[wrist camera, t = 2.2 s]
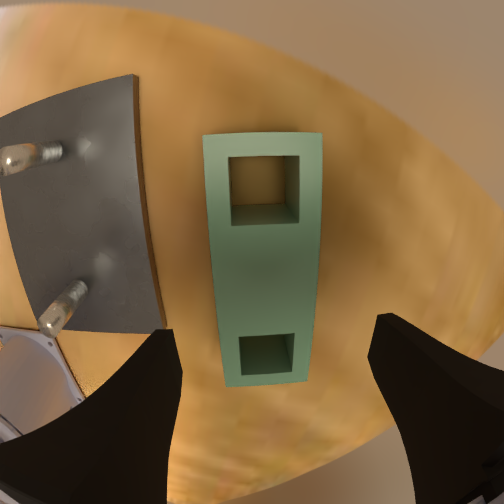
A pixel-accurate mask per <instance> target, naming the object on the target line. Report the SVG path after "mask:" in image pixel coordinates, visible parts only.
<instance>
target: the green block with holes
mask: <svg viewBox="0 0 504 504" xmlns="http://www.w3.org/2000/svg"><path fill="white" fill-rule="evenodd" d="M203 155H204V173H205V189H206V203H207V217H208V229H209V241H210V253H211V264H212V274H213V284H214V294H215V304H216V313H217V322H218V330H219V339H220V347H221V355H222V363H223V370H224V378H225V385H226V387H240V386H259V385H273V384H284V383H295V382H304V381H307V379H308V371H309V363H310V355H311V346H312V337H313V328H314V317H315V307H316V295H317V282H318V268H319V252H320V233H321V208H322V133H309V132H253V133H228V134H212V135H203ZM280 155H285V204H259V205H236V206H232V190H231V168H230V157H242V156H280Z"/></svg>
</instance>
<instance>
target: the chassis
mask: <svg viewBox="0 0 504 504" xmlns="http://www.w3.org/2000/svg"><path fill="white" fill-rule="evenodd" d="M0 189H1V196H2V202H3V208H4V213H5V218H6V223H7V228H8V232H9V236H10V240H11V244H12V248H13V252H14V256H15V259H16V263H17V266H18V270H19V273H20V276H21V279H22V282H23V285H24V288H25V291H26V294H27V297H28V300H29V302H30V305H31V308H32V310H33V313H34V315H35V318H36V320H37V325H38V328H39V330H40V331H41V333H42V334H43V335H45V336H46V337H48V338H51V339H53V338H55V337H56V336H57V335H58V333H59V332H60V331H61V329H62V330H75V331H90V332H109V333H137V334H152V333H153V332H154V331H155V330H156V329H166V327H167V323H166V318H165V313H164V309H163V304H162V299H161V294H160V289H159V283H158V278H157V272H156V267H155V261H154V255H153V248H152V242H151V235H150V228H149V221H148V213H147V205H146V196H145V187H144V177H143V166H142V154H141V139H140V120H139V77H137V76H136V75H134V74H130V75H125V76H121V77H116V78H112V79H108V80H104V81H100V82H96V83H92V84H89V85H85V86H82V87H79V88H75V89H72V90H69V91H66V92H63V93H60V94H57V95H54V96H51V97H48V98H46V99H43V100H40V101H38V102H35V103H33V104H30V105H28V106H25V107H23V108H20V109H18V110H16V111H13V112H11V113H9V114H7V115H5V116H3V117H0Z"/></svg>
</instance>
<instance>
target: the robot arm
mask: <svg viewBox="0 0 504 504" xmlns="http://www.w3.org/2000/svg"><path fill="white" fill-rule="evenodd" d="M0 340H1V342H2V344H3V348H2V349H1V350H0V504H167V475H168V459H169V451H170V445H171V440H172V435H173V430H174V426H175V421H176V416H177V411H178V407H179V402H180V397H181V386H182V374H183V371H182V367H181V363H180V359H179V355H178V351H177V347H176V342H175V338H174V333H173V329H156V330H155V331H154V332H153V333H152V334H151V335H150V336H149V337H148V338H147V339H146V340H145V341H144V343H143V344H142V345H141V346H140V347H139V348H138V349H137V350H136V351H135V353H134V354H133V355H132V356H131V357H130V358H129V359H128V360H127V361H126V362H125V363H124V364H123V365H122V366H121V367H120V369H118V370H117V371H116V372H115V373H114V374H113V375H112V376H111V377H110V378H109V379H108V380H107V381H106V382H105V383H104V384H103V385H102V386H101V387H99V388H98V389H97V390H96V391H95V392H94V393H92V394H91V395H90V396H88V397H87V398H86V399H85V398H84V396H83V394H82V392H81V390H80V389H79V387H78V385H77V383H76V381H75V380H74V378H73V376H72V374H71V372H70V370H69V368H68V366H67V364H66V362H65V360H64V358H63V356H62V354H61V352H60V349H59V347H58V345H57V343H56V341H55V338H53V339H51V338H48V337H46V336H45V335H43V334H42V333H41V331H33V330H25V329H17V328H10V327H3V326H0ZM367 358H368V361H369V364H370V367H371V370H372V373H373V376H374V379H375V381H376V383H377V385H378V387H379V389H380V391H381V393H382V395H383V397H384V399H385V401H386V403H387V405H388V407H389V410H390V412H391V414H392V416H393V418H394V420H395V422H396V424H397V427H398V429H399V431H400V434H401V437H402V440H403V444H404V447H405V450H406V454H407V457H408V461H409V466H410V469H411V475H412V480H413V485H414V491H415V500H416V504H504V371H502V370H499V369H496V368H493V367H490V366H488V365H485V364H483V363H480V362H478V361H476V360H474V359H471V358H469V357H467V356H465V355H463V354H461V353H459V352H457V351H456V350H454V349H452V348H450V347H448V346H446V345H445V344H443V343H441V342H440V341H438V340H436V339H435V338H433V337H431V336H430V335H428V334H427V333H425V332H423V331H422V330H420V329H419V328H417V327H415V326H414V325H412V324H411V323H409V322H407V321H406V320H404V319H402V318H401V317H399V316H397V315H395V314H393V313H386V314H379V315H377V319H376V324H375V328H374V332H373V337H372V341H371V345H370V349H369V352H368V356H367Z"/></svg>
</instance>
